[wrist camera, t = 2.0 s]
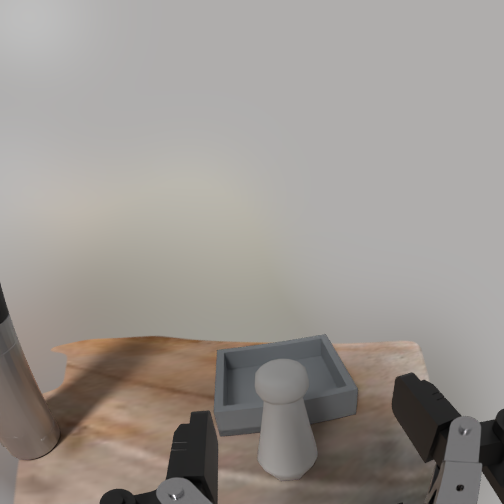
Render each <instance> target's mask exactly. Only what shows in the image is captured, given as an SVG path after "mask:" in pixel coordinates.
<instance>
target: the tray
mask: <svg viewBox="0 0 504 504" xmlns="http://www.w3.org/2000/svg"><path fill="white" fill-rule="evenodd" d="M276 359H291V360H295V361H297V362H299V363H300V364H302V365H303V366H304V367H305V368H306V372H307V376H308V380H309V387H308V390H307V391H306V393H305V395H304V396H303V400H304V404H305V407H306V411H307V415H308V419H309V422H310V424H314V423H319V422H323V421H328V420H333V419H337V418H341V417H346V416H350V415H354V414H356V407H357V395H358V388H357V386H356V385H355V383H354V381H353V380H352V378H351V376H350V374H349V373H348V371H347V369H346V368H345V366H344V364H343V362H342V361H341V359H340V357H339V356H338V354H337V352H336V351H335V349H334V347H333V345H332V344H331V342H330V340H329V339H328V337H327V335H326V334H324V335H318V336H313V337H306V338H301V339H295V340H288V341H282V342H275V343H268V344H261V345H254V346H246V347H238V348H230V349H222V350H217V363H216V380H215V399H214V415H215V419H216V423H217V426H218V430H219V434H220V436H231V435H241V434H250V433H258V432H261V423H262V414H263V404H264V401H263V400H262V399H261V398H260V397H259V396H258V394H257V393H256V390H255V373H256V372H257V370H258V369H259V368H260V367H261V366H262V365H263V364H265V363H267V362H269V361H272V360H276Z"/></svg>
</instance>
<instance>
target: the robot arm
mask: <svg viewBox="0 0 504 504" xmlns="http://www.w3.org/2000/svg"><path fill="white" fill-rule="evenodd" d="M392 410H393V413H394V415H395V417H396V419H397V420H398V422H399V423H400V425H401V426H402V428H403V429H404V431H405V432H406V434H407V436H408V437H409V439H410V440H411V442H412V443H413V445H414V447H415V448H416V450H417V451H418V453H419V454H420V456H421V458H422V459H423V461H424V462H425V463H427V462H429V461H431V460H435V462H436V464H435V467H434V471H433V475H432V479H431V482H430V486H429V490H428V493H427V496H426V500H425V502H424V504H477V501H478V494H479V488H480V481H481V472H483V474H484V475H485V477H486V478H487V480H488V481H489V483H490V485H491V486H492V488H493V489H494V491H495V492H496V494H497V496H498V497H499V499H500V500H501V502H502V504H504V409H502V410H500V411H499V412H498V414H497V416H496V419H495V420H490V421H485V422H478V421H477V420H476V419H475V418H472V417H469V416H461V415H460V414H459V413H458V412H457V410H456V409H455V408H454V407H453V406H452V405H451V404H450V402H449V401H448V400H447V399H446V398H444V396H443V395H442V393H440V392H439V390H438V389H437V388H436V387H435V386H434V385H433V384H431V383H430V382H428V381H426V380H422V381H420V380H419V379H418V377H417V376H416V375H415V374H414V373H408V374H405V375H402V376H398V377H396V379H395V385H394V392H393V398H392ZM59 437H60V428H59V426H58V424H57V423H56V421H55V419H54V417H53V415H52V413H51V411H50V409H49V408H48V405H47V403H46V401H45V399H44V397H43V395H42V393H41V391H40V389H39V387H38V385H37V383H36V381H35V378H34V376H33V374H32V372H31V370H30V367H29V365H28V362H27V360H26V358H25V356H24V353H23V350H22V348H21V345H20V343H19V340H18V337H17V335H16V332H15V329H14V327H13V323H12V320H11V317H10V315H9V311H8V309H7V305H6V302H5V299H4V295H3V292H2V288H1V284H0V443H1V445H2V446H3V447H6V449H7V450H8V451H9V453H10V454H11V455H12V456H14V457H16V458H18V459H22V460H30V459H35V458H38V457H41V456H43V455H45V454H46V453H48V452H49V451H50V450H51V449H52V448H53V447H54V446H55V445H56V444H57V442H58V440H59ZM100 504H218V440H217V435H216V431H215V428H214V424H213V421H212V417H211V413H210V411H197V412H191V417H190V424H180V426H179V427H178V428H177V430H176V431H175V432H174V436H173V444H172V448H171V453H170V459H169V465H168V471H167V477H166V480H165V481H163V482H162V483H161V484H160V485H159V486H158V488H157V489H156V490H154V491H152V492H148V493H143V494H138V495H133V494H132V493H131V492H129V491H127V490H124V489H113V490H110V491H108V492H107V493H105V494H104V495H103V496H102V498H101V500H100ZM399 504H403V503H399Z"/></svg>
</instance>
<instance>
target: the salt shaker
mask: <svg viewBox="0 0 504 504" xmlns="http://www.w3.org/2000/svg"><path fill="white" fill-rule="evenodd" d="M308 387H309V380H308V376H307V372H306V368H305V367H304V366H303V365H302V364H300V363H299V362H297V361H295V360H291V359H276V360H272V361H269V362H267V363H265V364H263V365H262V366H261V367H260V368H259V369H258V370H257V372H256V373H255V390H256V393H257V394H258V396H259V397H260V398H261V399H262V400H263V401H264V404H263V414H262V423H261V433H260V440H259V447H258V462H259V463H260V465H261V466H262V467H263V469H264V470H265V471H266V472H268V473H270V474H271V475H273V476H275V477H276V478H277V479H279V480H280V481H288V480H298V479H300V478H301V477H302V476H303V475H304V474H305V473H306V472H307V471H308V470H309V469H310V468H311V467H312V466H313V464H314V462H315V460H316V458H317V455H318V452H317V446H316V442H315V439H314V436H313V432H312V429H311V426H310V422H309V419H308V415H307V411H306V407H305V404H304V400H303V396H304V395H305V393H306V391H307V390H308Z"/></svg>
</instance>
